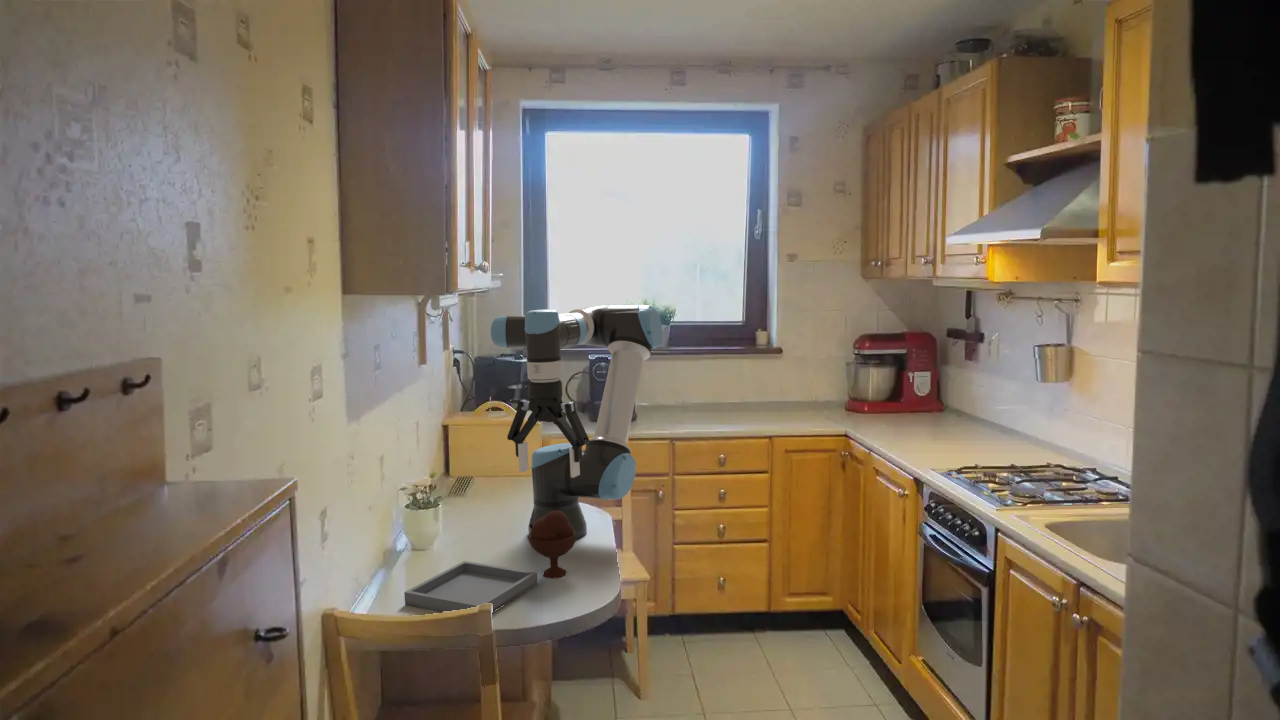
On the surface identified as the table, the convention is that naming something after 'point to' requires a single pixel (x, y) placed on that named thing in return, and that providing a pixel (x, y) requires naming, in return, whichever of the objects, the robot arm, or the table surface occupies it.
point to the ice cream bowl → (552, 540)
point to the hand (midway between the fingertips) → (549, 473)
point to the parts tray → (470, 587)
